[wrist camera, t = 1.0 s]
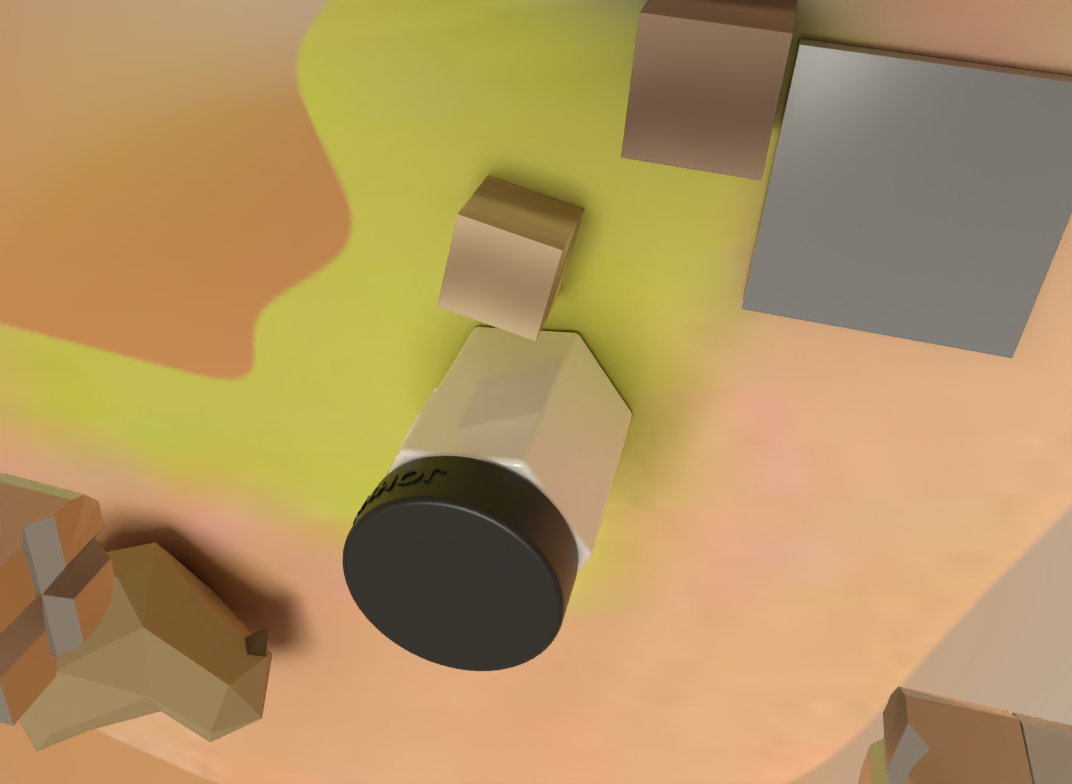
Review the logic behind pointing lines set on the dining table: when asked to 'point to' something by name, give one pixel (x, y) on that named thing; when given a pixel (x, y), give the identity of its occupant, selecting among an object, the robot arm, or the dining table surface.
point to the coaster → (914, 196)
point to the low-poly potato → (156, 658)
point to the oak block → (509, 257)
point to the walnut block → (707, 83)
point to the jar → (491, 503)
